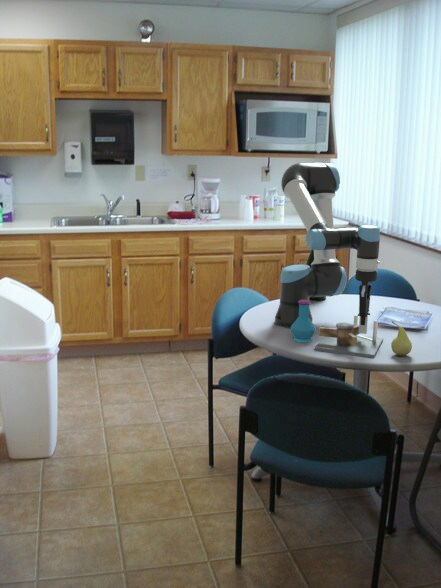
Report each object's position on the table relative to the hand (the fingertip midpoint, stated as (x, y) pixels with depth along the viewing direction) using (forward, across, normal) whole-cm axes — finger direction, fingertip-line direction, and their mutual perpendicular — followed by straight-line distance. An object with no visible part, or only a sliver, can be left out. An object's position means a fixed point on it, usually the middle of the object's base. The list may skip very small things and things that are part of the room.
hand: (362, 332), depth 247 cm
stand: (+4, -2, +4) cm, 7 cm away
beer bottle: (+4, +63, +32) cm, 71 cm away
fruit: (+5, -7, -14) cm, 16 cm away
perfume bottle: (+5, -2, +22) cm, 22 cm away
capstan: (+3, -3, +4) cm, 6 cm away
